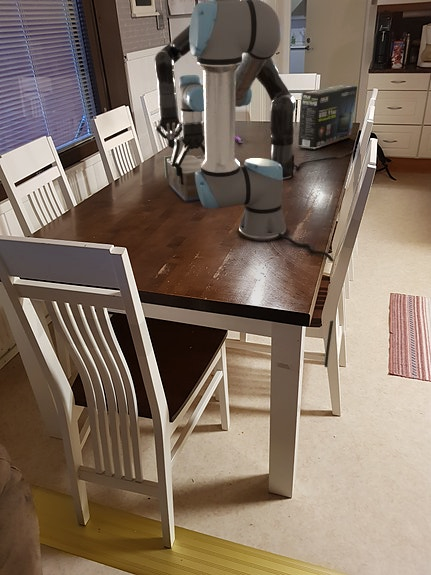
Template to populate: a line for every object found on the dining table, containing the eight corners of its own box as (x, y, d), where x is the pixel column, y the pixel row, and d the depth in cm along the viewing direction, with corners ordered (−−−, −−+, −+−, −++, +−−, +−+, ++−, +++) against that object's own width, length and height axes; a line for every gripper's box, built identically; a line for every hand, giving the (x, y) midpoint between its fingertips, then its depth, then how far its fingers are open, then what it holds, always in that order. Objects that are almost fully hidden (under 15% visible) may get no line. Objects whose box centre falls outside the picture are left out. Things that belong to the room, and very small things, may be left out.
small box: (169, 184, 193) (166, 158, 187) (193, 180, 196) (192, 154, 190) (185, 202, 176) (183, 173, 170) (212, 197, 180) (211, 169, 174)
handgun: (221, 137, 265) (221, 133, 264) (234, 135, 266) (234, 132, 265) (229, 145, 248) (229, 141, 247) (243, 143, 249) (243, 140, 248)
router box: (314, 151, 231) (318, 94, 217) (296, 148, 237) (299, 92, 224) (352, 138, 251) (358, 85, 238) (335, 135, 258) (340, 83, 245)
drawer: (161, 173, 203) (159, 152, 198) (182, 170, 206) (181, 149, 201) (180, 192, 182) (178, 169, 177) (203, 188, 185) (202, 166, 180)
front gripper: (218, 116, 172) (219, 174, 184) (157, 124, 165) (163, 183, 176) (226, 120, 166) (227, 179, 178) (163, 128, 159) (169, 189, 170)
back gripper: (180, 102, 193) (183, 144, 202) (149, 105, 189) (154, 148, 198) (186, 104, 187) (188, 147, 196) (154, 108, 183) (159, 152, 192)
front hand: (195, 181), depth 177 cm, fingers closed on small box, 11 cm apart
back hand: (171, 147), depth 197 cm, fingers closed
